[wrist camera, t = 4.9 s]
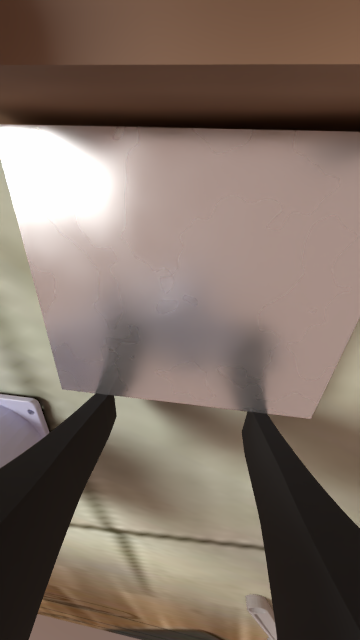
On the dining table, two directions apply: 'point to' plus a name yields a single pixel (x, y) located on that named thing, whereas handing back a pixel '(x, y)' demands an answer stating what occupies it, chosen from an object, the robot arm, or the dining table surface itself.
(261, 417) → the robot arm
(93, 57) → the stop rail
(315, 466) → the dining table surface
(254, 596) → the adjustable wrench
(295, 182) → the plate
